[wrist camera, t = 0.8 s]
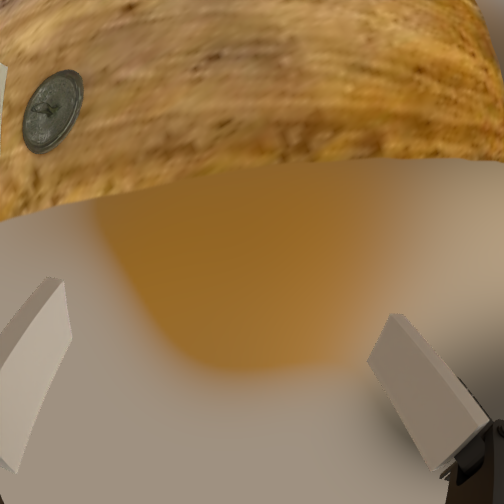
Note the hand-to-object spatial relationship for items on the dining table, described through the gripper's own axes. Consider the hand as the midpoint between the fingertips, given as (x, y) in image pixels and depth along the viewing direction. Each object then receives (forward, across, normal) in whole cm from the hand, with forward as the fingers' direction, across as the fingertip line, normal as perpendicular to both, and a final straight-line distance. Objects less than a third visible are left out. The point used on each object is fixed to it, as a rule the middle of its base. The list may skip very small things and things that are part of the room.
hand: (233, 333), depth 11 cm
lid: (+26, -22, +8) cm, 34 cm away
